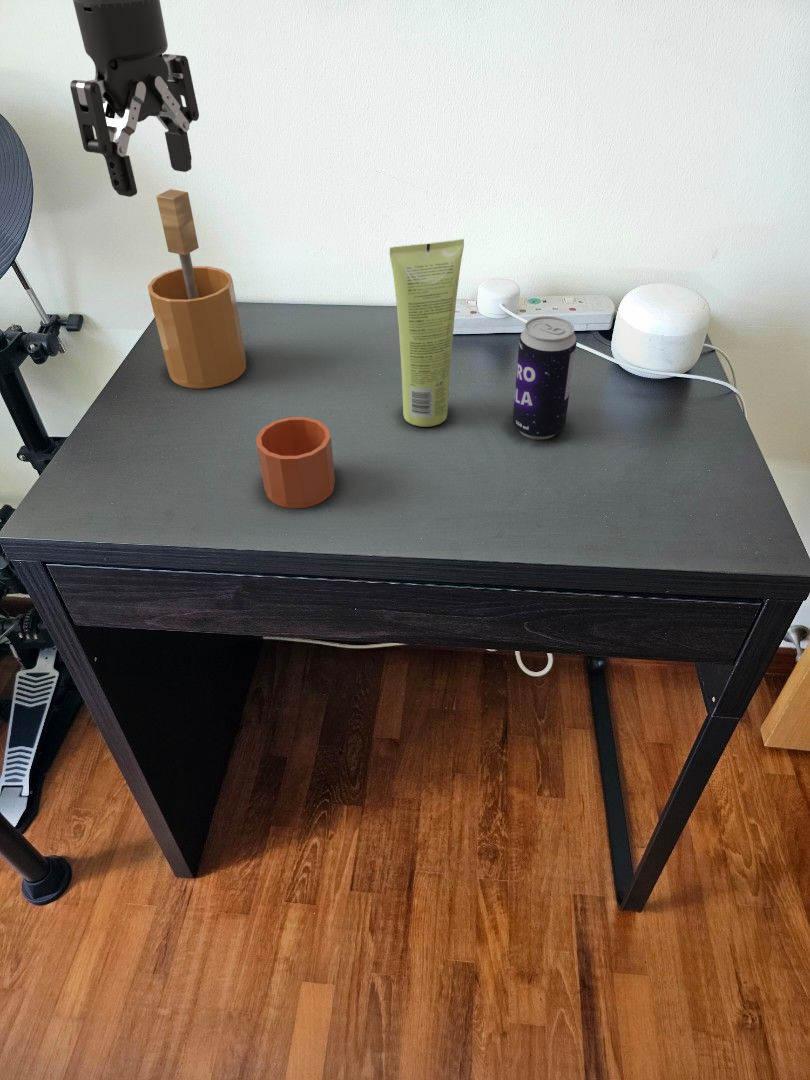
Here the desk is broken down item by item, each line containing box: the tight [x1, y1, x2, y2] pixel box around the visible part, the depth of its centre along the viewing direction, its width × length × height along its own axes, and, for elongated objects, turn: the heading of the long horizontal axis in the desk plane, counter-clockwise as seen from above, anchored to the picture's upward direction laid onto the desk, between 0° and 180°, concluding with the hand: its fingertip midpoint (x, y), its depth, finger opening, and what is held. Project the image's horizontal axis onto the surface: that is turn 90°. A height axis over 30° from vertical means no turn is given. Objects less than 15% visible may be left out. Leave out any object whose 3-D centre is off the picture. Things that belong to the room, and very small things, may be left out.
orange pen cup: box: [147, 265, 247, 390], centre depth 94 cm, size 9×9×11 cm
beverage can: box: [512, 315, 578, 440], centre depth 82 cm, size 6×6×12 cm
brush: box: [156, 188, 199, 299], centre depth 90 cm, size 4×4×20 cm
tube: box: [389, 238, 465, 428], centre depth 82 cm, size 6×5×20 cm
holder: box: [255, 416, 336, 509], centre depth 77 cm, size 7×7×6 cm
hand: (155, 182), depth 82 cm, fingers open, 8 cm apart
